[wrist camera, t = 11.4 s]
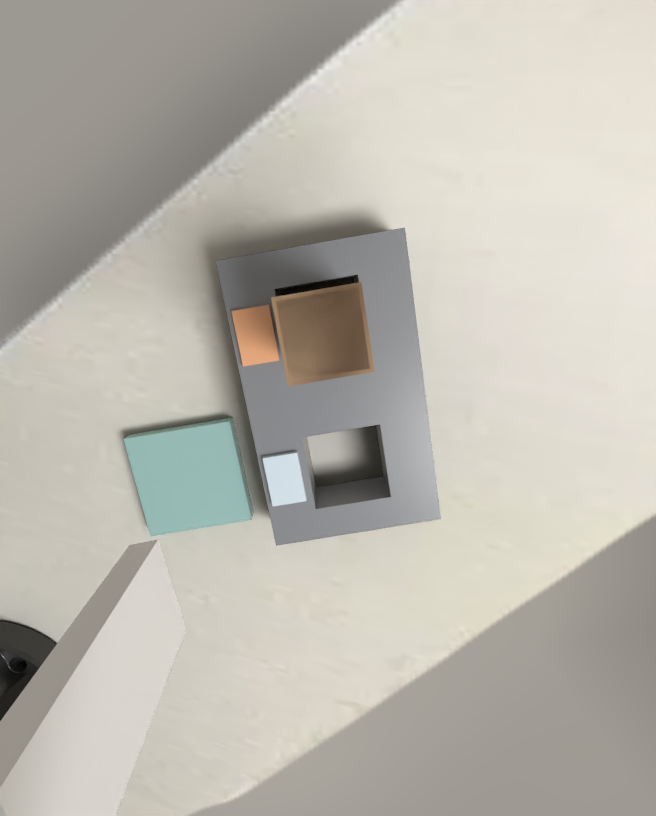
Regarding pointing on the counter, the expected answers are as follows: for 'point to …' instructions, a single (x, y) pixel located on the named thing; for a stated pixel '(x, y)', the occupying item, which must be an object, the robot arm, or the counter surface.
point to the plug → (323, 334)
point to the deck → (189, 476)
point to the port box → (335, 389)
